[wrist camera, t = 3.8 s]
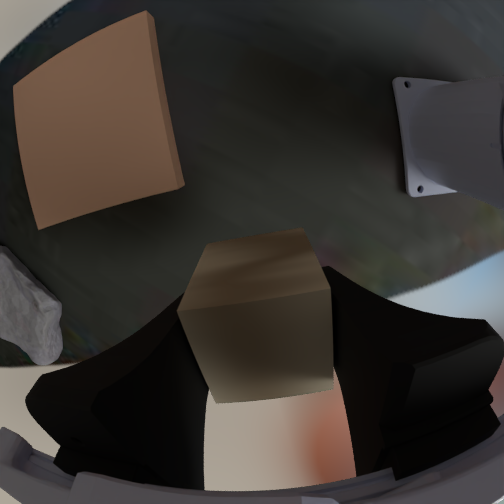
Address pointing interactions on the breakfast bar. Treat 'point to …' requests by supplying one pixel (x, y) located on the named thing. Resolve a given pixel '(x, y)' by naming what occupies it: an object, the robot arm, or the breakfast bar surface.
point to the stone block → (28, 311)
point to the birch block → (260, 318)
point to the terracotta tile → (97, 124)
